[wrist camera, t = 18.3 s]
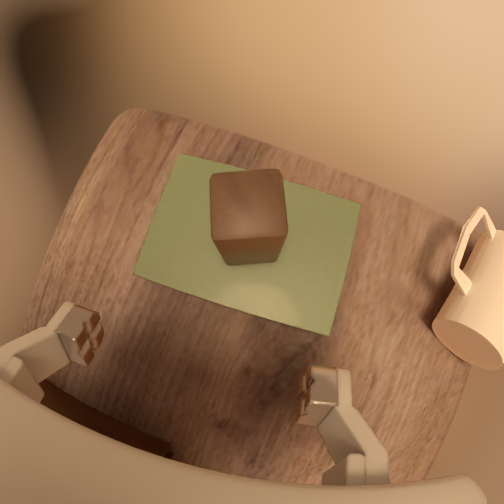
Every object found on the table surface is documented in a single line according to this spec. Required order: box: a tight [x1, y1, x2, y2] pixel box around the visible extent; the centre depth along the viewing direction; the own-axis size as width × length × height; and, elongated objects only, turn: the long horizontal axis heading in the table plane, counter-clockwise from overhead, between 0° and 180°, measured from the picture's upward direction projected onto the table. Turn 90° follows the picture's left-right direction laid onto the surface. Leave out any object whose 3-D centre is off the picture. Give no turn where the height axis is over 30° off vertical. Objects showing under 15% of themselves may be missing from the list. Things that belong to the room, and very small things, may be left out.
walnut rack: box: [38, 379, 173, 460], centre depth 20 cm, size 16×7×6 cm, turn 73°
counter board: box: [133, 154, 361, 336], centre depth 25 cm, size 16×11×3 cm
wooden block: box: [209, 169, 288, 265], centre depth 20 cm, size 4×4×8 cm
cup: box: [432, 207, 504, 370], centre depth 21 cm, size 8×12×10 cm
